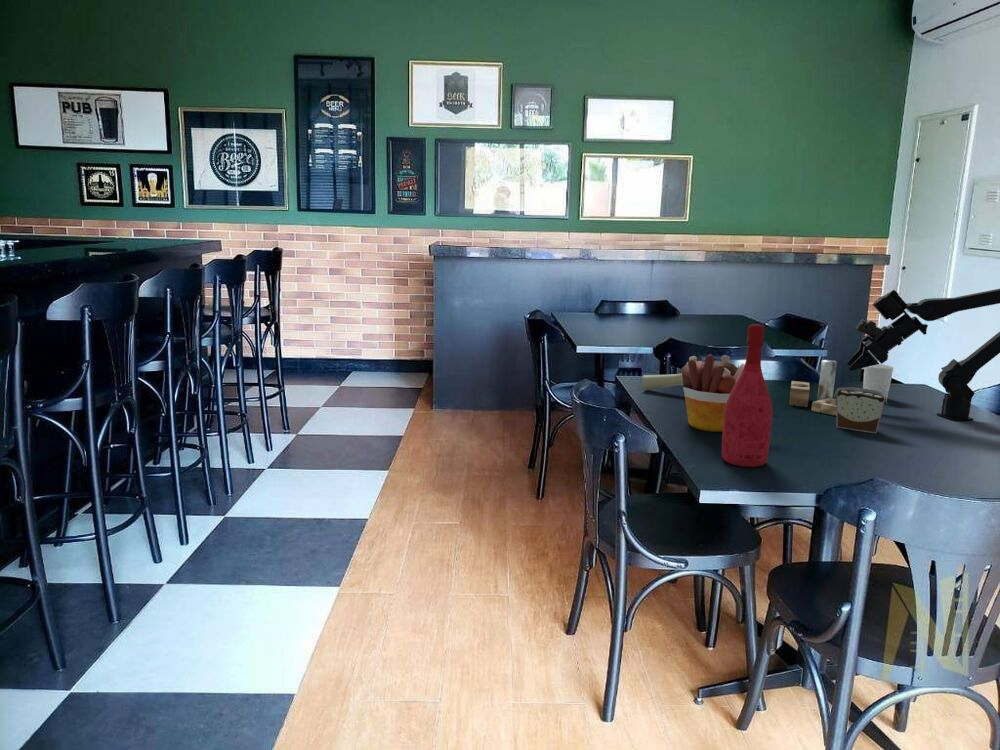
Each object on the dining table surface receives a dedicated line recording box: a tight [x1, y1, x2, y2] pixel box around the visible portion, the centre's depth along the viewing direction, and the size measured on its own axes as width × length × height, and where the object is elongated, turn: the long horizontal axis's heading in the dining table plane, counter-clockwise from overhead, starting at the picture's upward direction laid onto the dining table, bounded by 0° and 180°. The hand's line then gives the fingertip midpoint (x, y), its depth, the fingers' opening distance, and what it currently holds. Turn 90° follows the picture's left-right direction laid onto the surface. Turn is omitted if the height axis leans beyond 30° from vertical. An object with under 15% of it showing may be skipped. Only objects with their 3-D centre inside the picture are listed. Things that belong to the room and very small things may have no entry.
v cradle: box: [811, 398, 837, 417], centre depth 207 cm, size 8×14×2 cm, turn 174°
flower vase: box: [641, 364, 740, 392], centre depth 219 cm, size 12×12×35 cm
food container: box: [833, 387, 888, 434], centre depth 189 cm, size 12×6×10 cm, turn 56°
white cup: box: [862, 363, 894, 398], centre depth 226 cm, size 8×8×10 cm
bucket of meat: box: [681, 354, 745, 433], centre depth 185 cm, size 20×16×20 cm
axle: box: [816, 359, 837, 401], centre depth 215 cm, size 4×4×13 cm
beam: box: [788, 380, 811, 408], centre depth 218 cm, size 12×5×5 cm, turn 158°
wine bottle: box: [721, 323, 773, 468], centre depth 156 cm, size 10×10×30 cm
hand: (848, 366), depth 212 cm, fingers open, 9 cm apart
